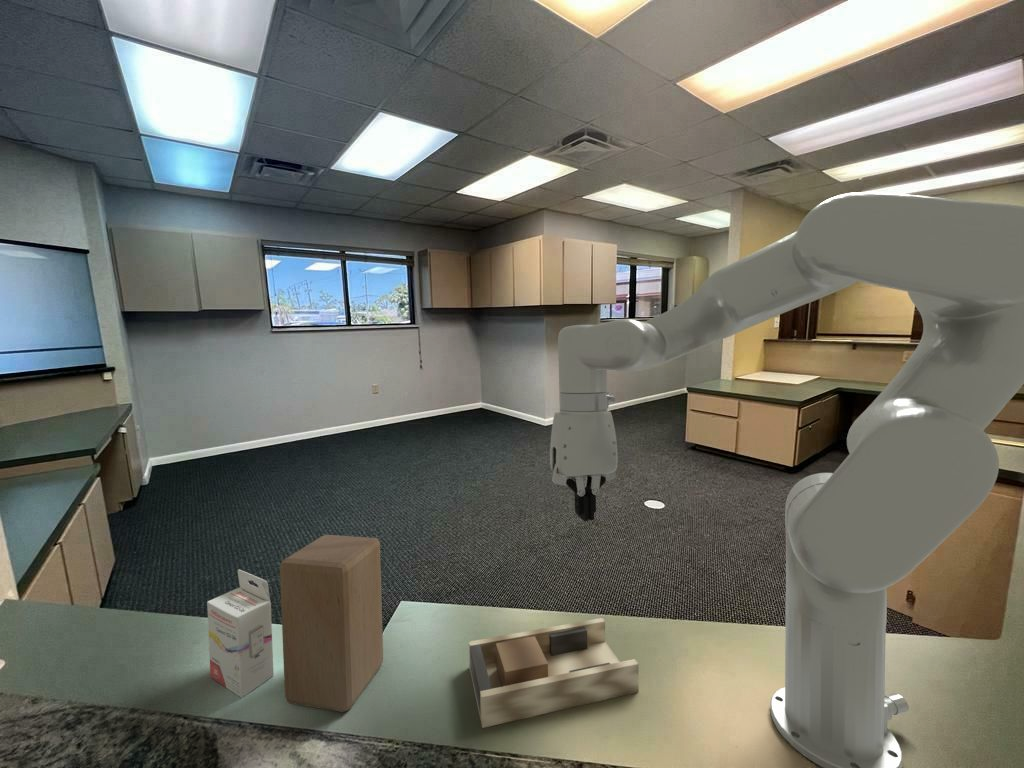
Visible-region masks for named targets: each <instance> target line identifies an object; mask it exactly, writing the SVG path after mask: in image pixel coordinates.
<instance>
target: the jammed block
mask: <svg viewBox="0 0 1024 768" xmlns="http://www.w3.org/2000/svg"><path fill="white" fill-rule="evenodd" d="M496 670H497V673H498V676H499V680H500V683H501V687H503V686H508V685H512V684H517V683H522V682H527V681H532V680H536V679H541V678H546V677H548V663H547V661H546V658H545V656H544V654H543V652H542V650H541V648H540V646H539V644H538V642H537V640H536V638H535V636H533V637H528V638H522V639H517V640H511V641H506V642H500V643H496Z"/></svg>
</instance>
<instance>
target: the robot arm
mask: <svg viewBox="0 0 1024 768" xmlns="http://www.w3.org/2000/svg"><path fill="white" fill-rule="evenodd" d="M796 230H797V231H795V232H792V233H791V234H789V235H786V236H784V237H783V238H781V239H778V240H776V241H775V242H773V243H771V244H768V245H766V246H764V247H763V248H761V249H759V250H757V251H755V252H752V253H750V254H749V255H746V256H744V257H742V258H740V259H738V260H737V261H735V262H732V263H730V264H727V265H726V266H724V267H721V268H720V269H718V270H717V271H715V272H714V273H712V274H710V276H708V278H707V279H705V280H704V281H703V283H702V284H701V285H700V287H699V288H698V289H697V290H696V291H695V292H694V293H693V294H692V295H691V296H690V297H688V298H687V299H686V300H684V301H683V302H681V303H680V304H677V306H674V307H673V308H671V309H669V310H667V311H665V312H663V313H661V314H659V315H656V316H654V317H653V318H650V319H647V320H646V321H640V320H635V319H632V318H621V319H616V320H610V321H606V322H604V323H599V324H598V323H597V324H576V325H575V324H574V325H570V326H565V327H563V328H561V329H560V331H559V333H558V336H557V346H558V347H557V351H558V353H557V355H558V356H557V357H558V389H559V390H558V391H559V395H558V397H559V399H558V400H559V411H557V412H556V411H555V412H554V415H553V419H552V424H551V425H552V426H551V434H550V446H549V447H550V448H549V449H550V450H549V464H550V465H549V466H550V469H551V471H552V476H551V481H552V482H553V484H555V485H558V486H559V485H560V486H567V487H568V489H570V490H571V491H572V492H573V493H574V496H573V497H574V513H575V514H576V515H577V517H579V518H580V519H581V520H582V521H583V522H588V521H595V513H596V512H597V495H598V494H599V493H600V489H601V488H602V486H604V484H605V483H606V482H610V481H612V480H615V479H617V476H618V475H617V469H618V459H619V458H618V444H617V435H616V428H615V424H614V418H613V415H612V412H611V411H609V410H608V409H609V408H610V406H609V405H610V404H614V403H615V400H616V399H615V396H614V395H610V394H609V392H608V371H607V370H609V371H618V372H636V371H648V370H650V369H654V368H656V367H659V366H661V365H663V364H666V363H669V362H671V361H674V360H676V359H678V358H680V357H683V356H685V355H688V354H690V353H693V352H694V351H697V350H699V349H701V348H704V347H706V346H708V345H711V344H712V343H714V342H718V341H720V340H723V339H726V338H729V337H732V336H734V335H736V334H738V333H740V332H743V331H745V330H747V329H749V328H750V329H751V327H753V326H757V325H758V324H761V323H763V322H766V321H768V320H770V319H772V318H775V317H778V316H779V315H782V314H785V313H787V312H789V311H792V310H794V309H797V308H799V307H802V306H805V305H806V304H810V303H812V302H815V301H817V300H820V299H822V298H824V297H827V296H829V295H832V294H834V293H837V292H839V291H841V290H843V289H846V288H848V287H850V286H852V285H855V284H856V283H858V282H860V283H864V284H868V285H873V286H877V287H883V288H886V289H887V288H888V289H893V290H898V291H902V292H907V294H908V298H909V299H910V301H911V302H912V303H913V305H914V306H915V307H916V309H917V311H918V312H919V314H920V316H921V319H922V324H923V325H922V327H923V329H922V330H923V331H922V334H921V339H920V341H919V342H918V345H917V347H916V348H915V350H913V353H912V354H911V355H910V357H909V358H908V359H907V360H906V362H905V363H904V364H903V366H902V367H901V368H900V369H899V371H898V373H896V375H895V376H894V377H893V378H892V380H891V381H890V382H889V383H888V384H887V385H886V386H885V387H884V389H883V390H882V391H881V392H880V393H879V395H877V397H876V398H875V399H874V400H873V401H872V402H871V403H870V404H869V405H868V407H866V409H865V410H864V411H863V412H862V413H860V415H859V416H858V417H857V418H856V419H855V420H854V421H853V423H852V425H850V428H849V430H848V433H847V437H846V447H847V450H848V453H849V454H848V455H847V456H846V458H845V459H844V460H843V461H842V463H841V464H840V465H839V466H838V467H837V468H836V469H835V470H834V471H833V472H818V473H814V474H811V475H808V476H805V477H804V478H802V479H800V480H799V481H797V482H796V483H795V484H794V485H793V487H791V489H790V491H789V493H788V495H787V496H786V497H787V498H786V500H785V509H784V523H785V525H784V527H785V559H786V560H785V562H786V563H785V630H784V631H785V632H784V633H785V635H784V636H785V637H784V638H785V641H784V643H785V644H784V645H785V649H784V650H785V653H784V655H785V657H784V686H783V687H781V688H779V689H777V690H776V691H775V692H774V693H773V695H772V696H771V698H770V699H771V700H770V715H771V719H772V721H773V723H774V726H775V727H776V729H777V731H779V733H780V734H781V736H782V737H783V738H784V739H785V741H787V742H788V743H789V745H790V746H792V747H793V748H794V749H795V750H796V751H797V752H799V754H801V755H802V756H804V757H805V758H807V759H808V760H810V761H811V762H812V763H814V764H816V765H818V766H820V767H821V768H903V751H902V749H901V746H900V744H899V741H897V739H896V737H895V736H894V735H893V733H892V732H891V731H890V729H889V727H888V722H889V721H891V720H892V718H893V716H898V715H901V714H905V713H907V712H909V708H910V707H909V704H908V702H907V700H906V699H905V697H904V696H902V695H900V694H899V693H897V692H894V693H893V692H892V693H889V694H886V695H885V692H886V690H885V689H886V688H885V687H886V640H887V639H886V638H887V637H886V635H887V634H886V631H887V628H886V627H887V617H888V616H887V611H888V610H887V609H888V607H887V606H888V605H887V601H888V599H887V597H888V596H887V589H888V588H890V587H891V586H893V585H895V584H896V583H898V582H900V581H901V580H903V579H904V578H906V577H907V576H908V575H909V574H910V573H912V572H913V571H914V570H915V569H916V568H917V567H918V566H919V565H920V564H921V563H922V562H923V561H924V560H926V558H928V557H929V556H930V555H931V554H932V553H933V552H934V551H935V550H936V549H938V547H939V546H940V545H941V544H942V543H944V541H946V540H947V539H948V538H949V537H950V536H951V535H952V534H953V533H954V532H955V531H956V530H957V529H958V528H959V527H960V526H961V525H962V524H963V523H964V522H965V521H967V519H969V517H971V516H972V514H974V512H975V511H976V510H977V509H978V508H979V507H980V506H981V505H982V504H983V503H984V501H985V500H986V499H987V498H988V497H989V495H990V493H991V492H992V489H994V485H995V484H996V481H997V479H998V475H999V468H1000V460H999V454H998V451H997V448H996V446H995V444H994V442H993V440H992V439H991V437H990V436H989V435H988V434H987V433H986V432H985V429H986V428H987V427H989V425H990V423H992V422H993V421H994V419H995V418H996V417H997V416H998V415H999V413H1000V412H1001V411H1002V410H1003V409H1004V408H1005V407H1006V405H1007V404H1008V403H1009V402H1010V401H1011V400H1012V399H1013V397H1014V396H1015V395H1016V394H1017V393H1018V392H1019V391H1020V389H1021V388H1022V387H1023V385H1024V205H1018V204H1017V205H1016V204H1009V203H1000V202H993V201H992V202H990V201H989V202H988V201H982V200H981V201H978V200H969V199H968V200H967V199H955V198H945V197H937V196H927V195H926V196H925V195H915V194H907V193H891V192H881V191H879V192H878V191H861V192H860V191H858V192H847V193H843V194H838V195H836V196H833V197H829V198H828V199H826V200H824V201H822V202H821V203H819V204H817V205H816V206H815V207H814V208H813V209H811V210H810V211H809V212H808V213H807V214H806V216H804V217H803V219H802V220H801V222H800V224H799V225H798V228H797V229H796ZM584 477H585V482H584Z"/></svg>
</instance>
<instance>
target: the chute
mask: <svg viewBox="0 0 1024 768" xmlns="http://www.w3.org/2000/svg"><path fill="white" fill-rule="evenodd" d="M533 636H535V638H536V640H537V642H538V644H539V646H540V648H541V650H542V652H543V654H544V656H545V658H546V661H547V663H548V677H546V678H541V679H536V680H532V681H527V682H522V683H517V684H512V685H508V686H503V687H501V683H500V680H499V676H498V673H497V670H496V643H500V642H506V641H511V640H517V639H522V638H528V637H533ZM468 655H469V657H468V658H469V659H468V661H469V671H470V676H471V681H472V685H473V690H474V691H473V692H474V696H475V700H476V705H477V710H478V715H479V718H480V725H481V728H482V729H484V728H488V727H493V726H496V725H497V726H498V725H501V724H506V723H510V722H515V721H519V720H523V719H524V720H525V719H528V718H532V717H536V716H540V715H544V714H548V713H553V712H558V711H562V710H566V709H570V708H574V707H579V706H583V705H587V704H588V705H589V704H591V703H596V702H601V701H605V700H609V699H613V698H614V699H615V698H618V697H622V696H627V695H631V694H635V693H639V690H640V689H639V685H640V684H639V682H640V681H639V677H640V676H639V662H638V661H637V660H636V659H635V658H632V659H629V660H623V661H620V660H619V659H618V657H617V656H616V654H615V653H614V652H613V651H612V649H611V648H610V646H609V645H608V643H607V642H606V621H605V619H604V618H603V617H599V618H594V619H588V620H587V619H586V620H583V621H576V622H572V623H566V624H560V625H554V626H548V627H543V628H537V629H531V630H527V631H522V632H521V631H520V632H516V633H509V634H504V635H498V636H493V637H487V638H481V639H476V640H471V641H468Z"/></svg>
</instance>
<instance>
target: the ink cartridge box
mask: <svg viewBox="0 0 1024 768" xmlns="http://www.w3.org/2000/svg"><path fill="white" fill-rule="evenodd" d="M237 576H238V583H239V587H237V588H235V589H232V590H229V591H228V592H226V593H223V594H221V595H218V596H216V597H214V598H213V599H210V600H208V601H207V602H206V606H207V607H206V608H207V624H208V625H207V626H208V627H207V629H208V646H209V647H208V650H209V651H208V652H209V670H210V671H209V672H210V678H211V679H212V680H215V681H216V682H218V683H219V684H220V685H222V686H224V688H227V689H228V690H229V691H230V692H232V693H234V694H235V695H237V696H238V697H239V698H243V697H245V696H247V695H248V694H250V693H251V692H252V691H254V690H256V689H257V688H258V687H260V686H261V685H264V683H266V682H267V681H268V680H270V679H271V678H272V677H274V674H275V673H274V652H273V628H272V627H273V625H272V623H273V622H272V602H271V598H270V591H269V590H270V589H269V584H268V583H269V582H268V581H267V580H266V579H263V578H261V577H259V576H256V575H254V574H251V573H249V572H247V571H244V570H242V569H241V568H240V569H237ZM249 582H253V583H254V584H256V585H257V586H255V585H253V584H251V583H249Z"/></svg>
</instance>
